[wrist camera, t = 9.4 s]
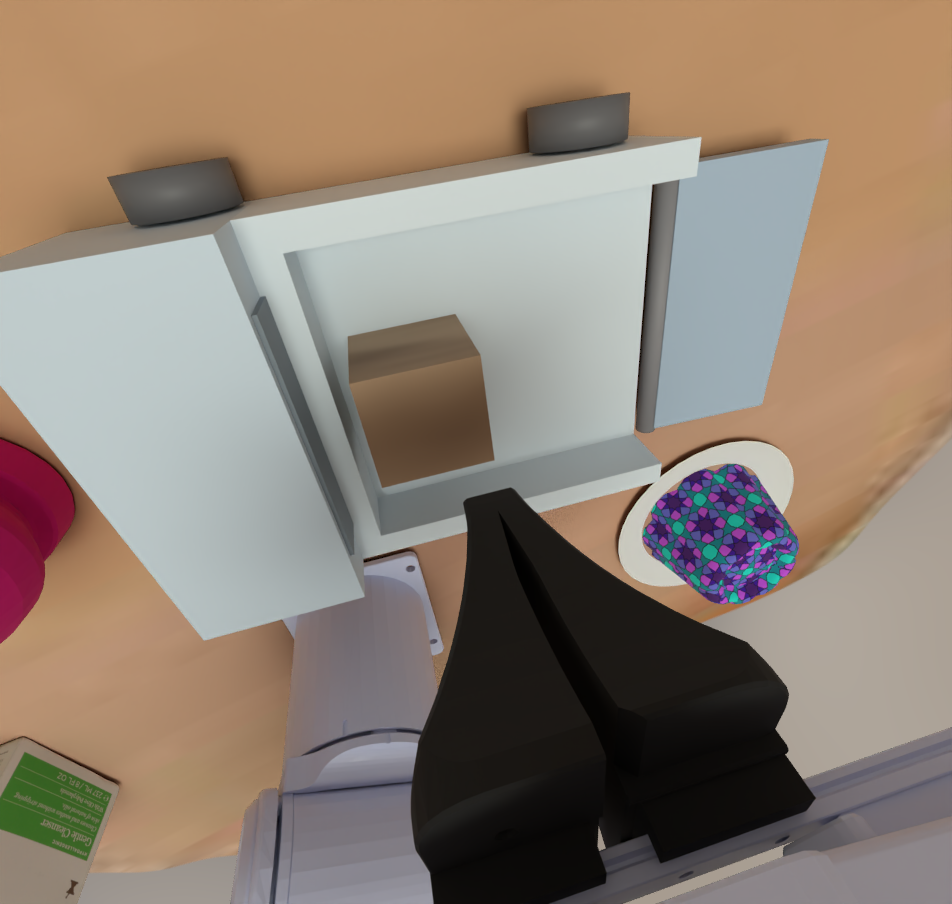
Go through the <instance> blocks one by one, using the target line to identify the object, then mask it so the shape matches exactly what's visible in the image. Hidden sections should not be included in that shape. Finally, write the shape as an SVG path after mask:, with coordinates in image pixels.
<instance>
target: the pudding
mask: <svg viewBox="0 0 952 904" xmlns="http://www.w3.org/2000/svg"><path fill="white" fill-rule="evenodd" d="M725 463H733V464H727V465H725V466H723V467H721V468H720V469H718V470H716V471H715V472H714V471H711V470H707V469H703V468H706V467H710V466H713V465H717V464H725ZM738 464H740V465H744V466H746V467H748V468H750V469H752V470H753V471H754V472H755V473H756V474H757V476H758V478H759V479H758V478H757V477H756V476H755V475H749V474H748V473H747V471H746V470H745V468H744V467H743V466H740V465H738ZM701 469H703V470H701ZM698 470H700V471H698ZM696 471H697V472H696ZM692 473H693V474H692ZM690 474H691V475H690ZM688 475H689V476H688ZM687 476H688V477H687ZM685 477H686V478H685ZM683 478H685V479H684V480H683V481H682V483H681V484H680V486H679V487H678V489H677V490H675V491H672V492H670V493H667V494H665V495H664V496H663V497H662V498H660V497H661V496H662V495H663V494H664V493H665V492H666V491H667V490H669V489H670V488H671V487H672V486H673V485H674V484H676V483H677V482H679V481H680V480H682V479H683ZM759 480H760V481H759ZM793 482H794V477H793V469H792V466H791V464H790V462H789V459H788V458H787V457H786V456H785V455H784V453H783V452H782V451H781V450H779V449H777V448H776V447H774V446H772V445H769V444H766V443H762V442H756V441H740V442H731V443H726V444H723V445H719V446H715V447H712V448H709V449H707V450H705V451H702V452H700V453H697V454H695V455H693V456H691V457H690V458H688V459H686V460H684V461H683V462H681V463H679V464H677V465H676V466H675V467H673V468H672V469H671V470H669V471H668V472H666V473H665V474H664V475H662V476H661V477H660V481H658V482H655V483H653V484H652V485H651V486H650V487H649V488H648V489H647V490H646V492H645V493H644V494H643V495H642V496H641V497H640V498H639V500H638V501H637V502H636V504H635V505H634V507H633V508H632V510H631V511H630V513H629V514H628V516H627V519H626V521H625V523H624V525H623V527H622V530H621V534H620V538H619V549H618V553H619V557H620V562H621V564H622V566H623V568H624V569H625V571H626V572H627V573H628V574H629V575H630V576H631V577H632V578H634V579H636V580H637V581H639V582H641V583H645V584H648V585H653V586H677V585H682V584H688V585H690V586H691V587H692V588H693V589H695V590H696V591H697V592H698V593H700V594H701V595H702V596H703V597H705V598H706V599H707V600H709V601H711V602H714V603H718V604H726V603H732V604H742V603H745V602H748V601H750V600H751V599H753V598H754V597H755V596H757V595H762V594H765V593H767V592H769V591H770V590H772V589H773V588H774V587H775V586H776V585H777V584H778V582H779V580H780V579H781V578H783V577H785V576H786V575H788V574H789V573H790V571H791V570H792V569H793V567H794V565H795V562H796V560H795V556H796V555H797V553H798V550H799V543H798V539H797V536H796V534H795V533H794V532H793V530H792V529H791V527H790V526H789V524H788V523H787V521H786V520H785V518H784V517H783V513H784V511H785V509H786V507H787V505H788V503H789V500H790V497H791V494H792V490H793ZM659 498H660V499H659ZM655 503H656V504H655ZM654 504H655V506H654ZM653 506H654V507H653ZM652 507H653V509H652ZM651 509H652V511H651V514H652V519H653V520H652V521H651V522H650V523H649V525H648V526H647V527H646V528H645V529H644V532H643V540H644V543H645V544H646V545H647V546H648V547H649V548H651V549H652V555H653V556H654V557H655V558H656V559H657V560H656V559H654V558H653V557H651V556H650V555H649V554H648V553H647V552H646V551H645V548H644V546H643V543H642V529H643V526H644V522H645V520H646V518H647V516H648V514H649V512H650V510H651Z"/></svg>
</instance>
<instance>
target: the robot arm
mask: <svg viewBox="0 0 952 904" xmlns="http://www.w3.org/2000/svg"><path fill="white" fill-rule="evenodd" d="M463 506H464V511H465V516H466V521H467V562H466V571H465V580H464V588H463V595H462V601H461V607H460V612H459V617H458V622H457V626H456V630H455V634H454V638H453V642H452V646H451V650H450V654H449V657H448V661H447V664H446V667H445V670H444V673H443V676H442V679H441V682H440V685H439V688H437V682H436V676H435V670H434V665H433V659H432V656H433V655H437V654H439V653H441V652H442V651H443V649H444V647H443V643H442V639H441V636H440V632H439V629H438V626H437V622H436V619H435V616H434V612H433V609H432V605H431V602H430V599H429V595H428V592H427V589H426V585H425V582H424V578H423V575H422V572H421V568H420V565H419V562H418V558H417V555H416V554H415V553H414V552H410V551H409V552H404V553H400V554H396V555H392V556H389V557H385V558H381V559H377V560H373V561H370V562H366V563H363V564H364V584H365V597H363V598H359V599H355V600H352V601H348V602H344V603H341V604H337V605H333V606H330V607H326V608H322V609H319V610H315V611H311V612H308V613H304V614H300V615H296V616H293V617H289V618H285V619H282V620H283V622H284V623H285V625H286V627H287V628H288V630H289V632H290V633H291V635H292V637H293V638H294V651H293V662H292V673H291V683H290V694H289V705H288V715H287V726H286V737H285V747H284V758H283V769H282V776H281V780H280V784H279V789H278V790H277V788H269V789H264V790H262V791H261V792H260V794H259V797H258V799H255V800H254V801H253V802H252V804H251V805H250V806H249V807H248V808H247V809H246V810H245V814H244V819H243V825H242V831H241V837H240V843H239V849H238V855H237V862H236V869H235V875H234V881H233V888H232V895H231V902H230V904H623V903H626V902H629V901H632V900H634V899H637V898H640V897H643V896H645V895H648V894H651V893H654V892H656V891H659V890H662V889H664V888H667V887H670V886H673V885H675V884H678V883H681V882H683V881H686V880H689V879H692V878H694V877H697V876H700V875H703V874H705V873H708V872H711V871H714V870H716V869H719V868H722V867H724V866H727V865H730V864H732V863H735V862H738V861H741V860H744V859H746V858H749V857H752V856H754V855H757V854H760V853H762V852H765V851H768V850H771V849H774V848H776V847H779V846H782V845H784V844H787V843H790V842H792V843H790V844H788V845H786V846H785V847H784V848H783V857H781V858H778V859H776V860H773V861H771V862H768V863H765V864H762V865H759V866H757V867H754V868H751V869H749V870H746V871H743V872H741V873H738V874H735V875H733V876H730V877H727V878H724V879H722V880H719V881H717V882H714V883H711V884H708V885H705V886H703V887H700V888H697V889H695V890H692V891H689V892H686V893H684V894H681V895H678V896H676V897H673V898H670V899H668V900H665V901H662V902H660V903H657V904H952V727H951V728H948V729H945V730H942V731H939V732H937V733H934V734H931V735H928V736H925V737H922V738H919V739H917V740H914V741H911V742H908V743H905V744H902V745H899V746H897V747H894V748H891V749H888V750H885V751H882V752H880V753H877V754H874V755H871V756H868V757H865V758H863V759H860V760H857V761H854V762H851V763H848V764H845V765H843V766H840V767H837V768H834V769H831V770H828V771H826V772H823V773H820V774H817V775H814V776H811V777H808V778H806V779H802V778H801V776H800V775H799V774H798V772H797V771H796V769H795V768H794V767H793V765H792V764H791V762H790V761H789V759H788V758H787V756H786V755H785V754H787V752H788V747H787V745H786V744H785V742H784V741H783V739H782V738H781V737H780V735H779V734H778V732H777V731H776V730H775V728H776V726H777V724H778V722H779V720H780V718H781V716H782V714H783V712H784V710H785V708H786V705H787V702H788V696H789V693H788V690H787V687H786V685H785V684H784V683H783V682H782V680H781V679H780V678H779V677H778V675H777V674H776V673H775V672H774V670H773V669H772V668H771V667H770V666H769V665H768V664H767V662H766V661H765V660H764V659H763V658H762V657H761V656H760V655H759V654H758V653H757V652H756V651H755V650H754V649H753V648H752V647H751V646H750V645H749V644H748V643H747V642H745V641H743V640H740V639H738V638H735V637H733V636H730V635H728V634H726V633H723V632H721V631H718V630H716V629H713V628H711V627H709V626H706V625H704V624H701V623H699V622H697V621H695V620H693V619H691V618H689V617H686V616H684V615H682V614H680V613H678V612H676V611H674V610H672V609H670V608H669V607H667V606H665V605H663V604H661V603H659V602H657V601H656V600H654V599H652V598H650V597H648V596H646V595H645V594H643V593H641V592H639V591H637V590H636V589H634V588H633V587H631V586H629V585H628V584H626V583H624V582H623V581H621V580H620V579H618V578H617V577H615V576H614V575H612V574H611V573H609V572H608V571H606V570H605V569H603V568H602V567H600V566H599V565H598V564H596V563H595V562H593V561H592V560H591V559H589V558H588V557H587V556H585V555H584V554H583V553H582V552H580V551H579V550H578V549H576V548H575V547H574V546H573V545H571V544H570V543H569V542H568V541H567V540H565V539H564V538H563V537H562V536H561V535H560V534H559V533H558V532H556V531H555V530H554V529H553V528H552V527H551V526H550V525H549V524H547V523H546V522H545V521H544V520H543V519H542V518H541V517H540V516H539V515H538V514H537V513H536V512H535V511H534V510H533V509H532V508H531V507H530V506H529V505H528V504H527V503H526V502H525V501H524V500H523V498H522V497H521V496H520V495H519V494H518V493H517V492H516V490H515V489H513V488H511V487H510V488H506V489H502V490H498V491H494V492H490V493H486V494H482V495H478V496H474V497H470V498H466V500H465V501H464V502H463ZM410 565H413V566H411V567H407V566H410ZM598 826H599V828H600V831H601V834H602V837H603V841H604V844H605V847H606V849H603V850H601V851H599V850H598V847H597V844H598ZM793 841H794V842H793Z"/></svg>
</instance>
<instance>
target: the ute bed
mask: <svg viewBox="0 0 952 904" xmlns="http://www.w3.org/2000/svg"><path fill="white" fill-rule="evenodd" d="M629 105H630V92H628V93H621V94H613V95H607V96H600V97H593V98H587V99H580V100H574V101H568V102H562V103H555V104H549V105H543V106H538V107H532V108H527V120H528V138H529V153H524V154H518V155H512V156H506V157H501V158H495V159H489V160H483V161H478V162H472V163H466V164H460V165H454V166H449V167H443V168H437V169H431V170H426V171H420V172H414V173H408V174H403V175H397V176H391V177H385V178H379V179H374V180H368V181H362V182H356V183H351V184H345V185H339V186H333V187H328V188H322V189H316V190H310V191H305V192H299V193H293V194H287V195H281V196H276V197H270V198H264V199H258V200H253V201H247V202H243V199H242V196H241V194H240V191H239V188H238V185H237V183H236V180H235V177H234V175H233V172H232V169H231V167H230V164H229V161H228V158H227V157H225V158H218V159H211V160H205V161H198V162H192V163H186V164H180V165H174V166H168V167H162V168H156V169H150V170H144V171H138V172H132V173H127V174H121V175H116V176H111V177H107V178H108V180H109V182H110V184H111V186H112V188H113V190H114V192H115V194H116V196H117V198H118V200H119V202H120V204H121V206H122V208H123V210H124V212H125V214H126V216H127V218H128V220H129V222H126V223H120V224H114V225H108V226H103V227H97V228H91V229H85V230H80V231H74V232H68V233H64V234H61V235H59V236H56V237H53V238H51V239H48V240H45V241H42V242H40V243H37V244H34V245H32V246H29V247H26V248H24V249H21V250H18V251H16V252H13V253H10V254H7V255H5V256H2V257H0V386H1V387H2V388H3V389H4V391H5V392H6V393H7V394H8V396H9V397H10V398H11V399H12V401H13V402H14V403H15V404H16V406H17V407H18V408H19V409H20V411H21V412H22V413H23V414H24V416H25V417H26V418H27V419H28V421H29V422H30V423H31V424H32V426H33V427H34V428H35V429H36V431H37V432H38V433H39V434H40V436H41V437H42V438H43V439H44V441H45V442H46V443H47V444H48V446H49V447H50V448H51V449H52V451H53V452H54V453H55V455H56V456H57V457H58V458H59V460H60V461H61V462H62V463H63V465H64V466H65V467H66V468H67V470H68V471H69V472H70V473H71V475H72V476H73V477H74V478H75V480H76V481H77V482H78V483H79V485H80V486H81V487H82V488H83V490H84V491H85V492H86V493H87V495H88V496H89V497H90V498H91V500H92V501H93V502H94V503H95V505H96V506H97V507H98V508H99V510H100V511H101V512H102V513H103V515H104V516H105V517H106V518H107V520H108V521H109V522H110V523H111V525H112V526H113V527H114V528H115V530H116V531H117V532H118V533H119V535H120V536H121V537H122V538H123V540H124V541H125V542H126V543H127V545H128V546H129V547H130V548H131V550H132V551H133V552H134V554H135V555H136V556H137V557H138V559H139V560H140V561H141V562H142V564H143V565H144V566H145V567H146V569H147V570H148V571H149V572H150V574H151V575H152V576H153V577H154V579H155V580H156V581H157V582H158V584H159V585H160V586H161V587H162V589H163V590H164V591H165V592H166V594H167V595H168V596H169V597H170V599H171V600H172V601H173V602H174V604H175V605H176V606H177V607H178V609H179V610H180V611H181V612H182V614H183V615H184V616H185V617H186V619H187V620H188V621H189V622H190V624H191V625H192V626H193V627H194V629H195V630H196V631H197V632H198V634H199V635H200V636H201V637H202V639H203V640H208V639H212V638H216V637H219V636H223V635H227V634H230V633H234V632H238V631H241V630H245V629H249V628H252V627H256V626H260V625H263V624H267V623H271V622H274V621H278V620H282V619H285V618H289V617H293V616H296V615H300V614H304V613H308V612H311V611H315V610H319V609H322V608H326V607H330V606H333V605H337V604H341V603H344V602H348V601H352V600H355V599H359V598H363V597H365V584H364V564H363V559H365V558H369V557H373V556H376V555H380V554H384V553H388V552H392V551H396V550H399V549H403V548H407V547H411V546H415V545H418V544H422V543H426V542H430V541H434V540H437V539H441V538H445V537H449V536H453V535H456V534H460V533H464V532H467V521H466V516H465V511H464V506H463V502H464V501H465V500H466V498H470V497H474V496H478V495H482V494H486V493H490V492H494V491H498V490H502V489H506V488H510V487H511V488H513V489H515V490H516V492H517V493H518V494H519V495H520V496H521V497H522V498H523V500H524V501H525V502H526V503H527V504H528V505H529V506H530V507H531V508H532V509H533V510H534V511H535V512H536V513H540V512H544V511H548V510H552V509H555V508H559V507H563V506H567V505H571V504H574V503H578V502H582V501H586V500H590V499H594V498H597V497H601V496H605V495H609V494H613V493H616V492H620V491H624V490H628V489H632V488H635V487H639V486H643V485H647V484H651V483H654V482H658V481H660V474H661V465H662V463H661V462H660V461H659V460H658V459H657V458H656V457H655V456H654V455H653V454H652V453H651V452H650V451H649V450H648V449H647V448H646V447H645V446H644V444H643V443H642V442H641V441H640V440H639V439H638V438H637V437H636V436H635V435H634V421H635V407H636V394H637V381H638V367H639V354H640V341H641V327H642V314H643V301H644V287H645V274H646V261H647V247H648V234H649V221H650V207H651V194H652V184H658V183H663V182H668V181H674V180H679V179H685V178H690V177H695V176H697V170H698V162H699V154H700V145H701V137H675V136H628V126H629ZM452 314H456V316H457V318H458V319H459V321H460V322H461V324H462V326H463V327H464V329H465V331H466V332H467V334H468V335H469V337H470V339H471V340H472V342H473V344H474V345H475V347H476V348H477V350H478V352H479V353H480V355H481V362H482V369H483V377H484V384H485V392H486V399H487V407H488V414H489V422H490V429H491V436H492V444H493V451H494V459H495V460H494V461H490V462H486V463H482V464H478V465H474V466H470V467H466V468H462V469H458V470H453V471H449V472H445V473H441V474H437V475H433V476H429V477H425V478H421V479H417V480H413V481H409V482H405V483H401V484H397V485H393V486H389V487H385V488H382V486H381V483H380V480H379V477H378V474H377V471H376V468H375V464H374V461H373V458H372V455H371V452H370V449H369V446H368V443H367V439H366V436H365V433H364V430H363V427H362V424H361V421H360V418H359V414H358V411H357V408H356V405H355V402H354V399H353V396H352V393H351V389H350V386H349V371H348V336H352V335H357V334H362V333H366V332H371V331H376V330H381V329H386V328H390V327H395V326H400V325H405V324H409V323H414V322H419V321H424V320H429V319H433V318H438V317H443V316H448V315H452Z"/></svg>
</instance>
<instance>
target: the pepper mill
mask: <svg viewBox="0 0 952 904" xmlns="http://www.w3.org/2000/svg"><path fill="white" fill-rule="evenodd" d="M74 512H75V507H74V502H73V496H72V493H71V491H70V490H69V488H68V486H67V485H66V483H65V481H64V479H63V478H62V477H61V476H60V475H59V474H58V473H57V472H56V471H55V470H54V469H53V468H52V467H51V466H50V465H49V464H48V463H46V462H45V461H43V460H42V459H40V458H39V457H37V456H36V455H34V454H32V453H31V452H29V451H28V450H26V449H24V448H22V447H19V446H17V445H14V444H12V443H9V442H7V441H4V440H2V439H0V644H1V643H2V642H3V641H4V640H5V639H6V638H8V637H9V636H10V635H11V634H12V633H13V632H14V631H15V630H16V628H17V627H18V626H19V625H20V623H21V622H22V621H23V619H24V618H25V617H26V616H27V614H28V613H29V612H30V611H31V609H32V608H33V607H34V605H35V604H36V602H37V601H38V599H39V596H40V594H41V592H42V589H43V585H44V578H45V564H44V561H45V560H46V559H47V558H48V557H49V556H50V555H51V553H52V552H53V550H54V549H55V548H56V546H57V545H58V543H59V542H60V540H61V539H62V537H63V536H64V534H65V533H66V532H67V530H68V529H69V527H70V525H71V523H72V521H73V518H74Z"/></svg>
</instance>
